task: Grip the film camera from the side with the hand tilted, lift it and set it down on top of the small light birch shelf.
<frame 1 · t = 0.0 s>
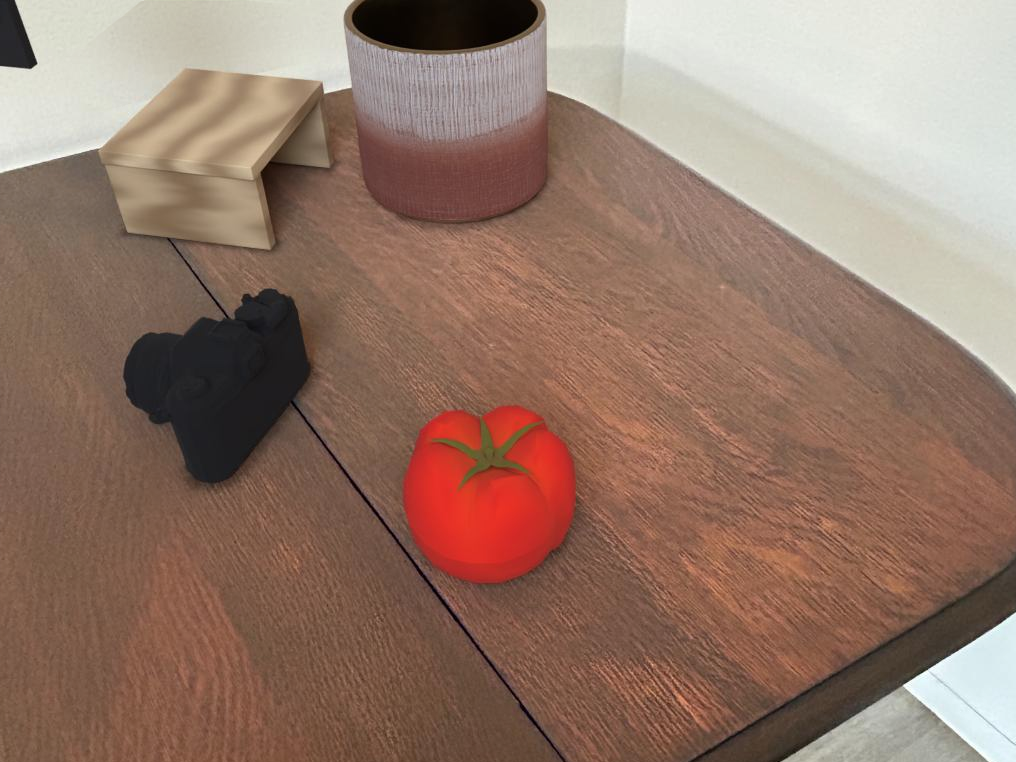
hand: (73, 20, 65), 24 cm above the table, tool pointing down, fingers open, 13 cm apart
film camera: (221, 416, 76), on the table
planter: (456, 184, 100), on the table
shelf: (235, 196, 98), on the table
tomato: (494, 541, 68), on the table
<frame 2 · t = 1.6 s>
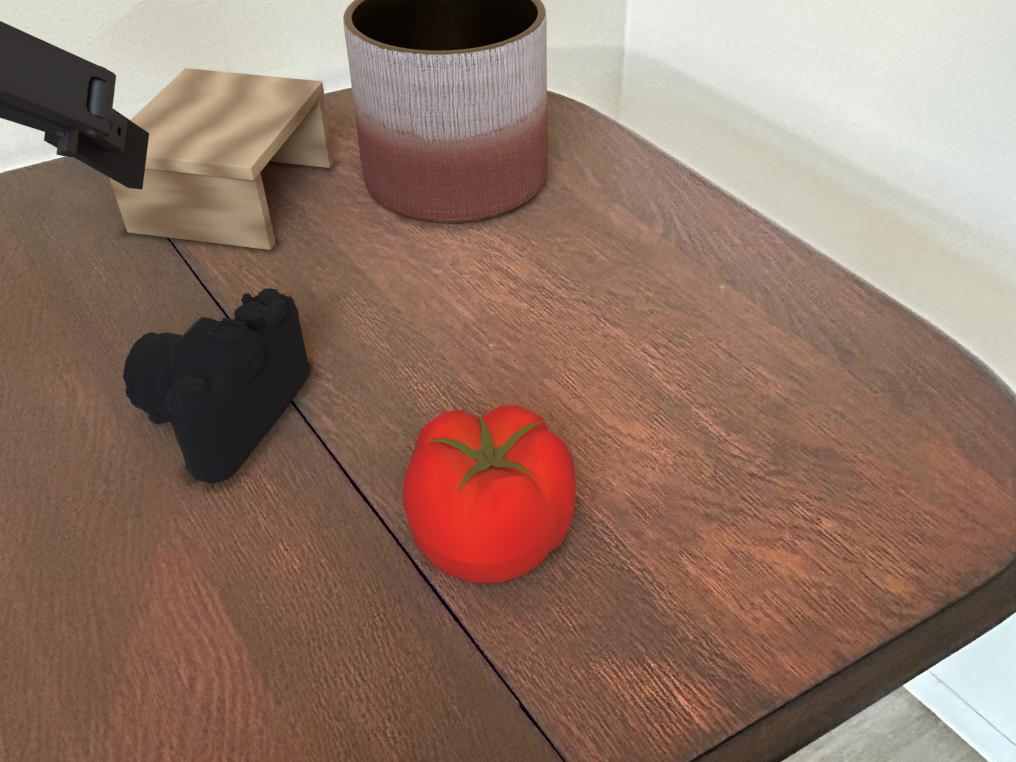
hand: (12, 147, 50), 26 cm above the table, tool tilted 45°, fingers open, 13 cm apart
nothing on the table moved.
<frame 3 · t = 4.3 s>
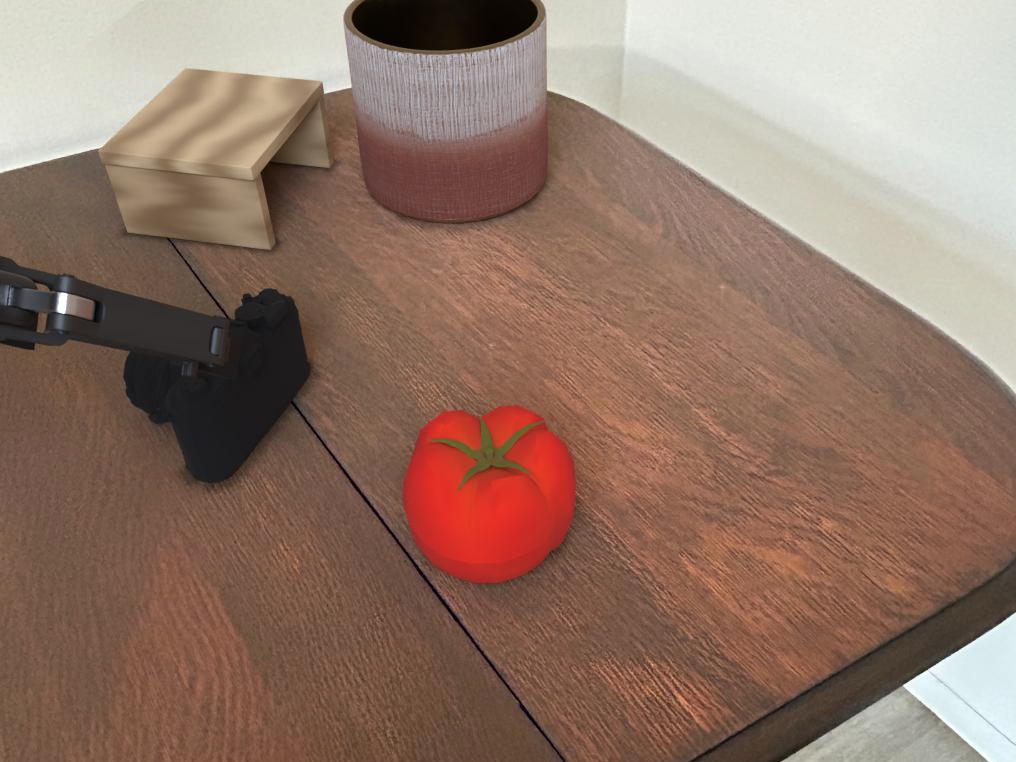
hand: (131, 342, 63), 12 cm above the table, tool tilted 45°, fingers open, 13 cm apart
nothing on the table moved.
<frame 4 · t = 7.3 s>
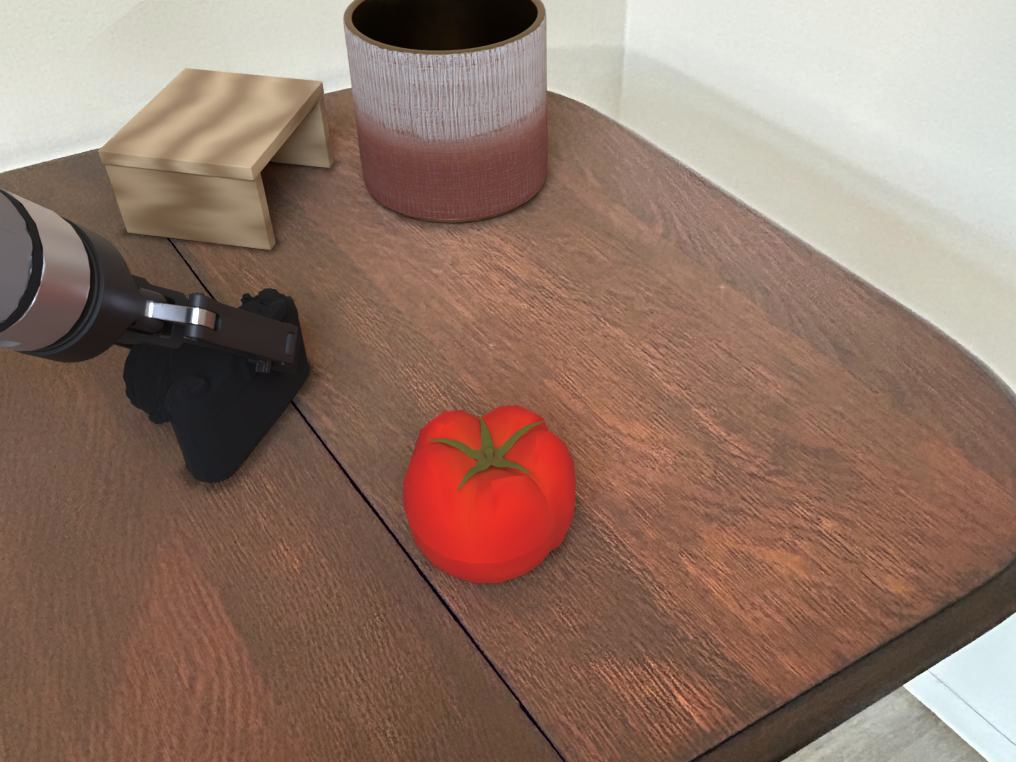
hand: (225, 347, 75), 4 cm above the table, tool tilted 45°, fingers closed on film camera, 10 cm apart
film camera: (221, 416, 76), on the table, touching gripper
everything else where it was.
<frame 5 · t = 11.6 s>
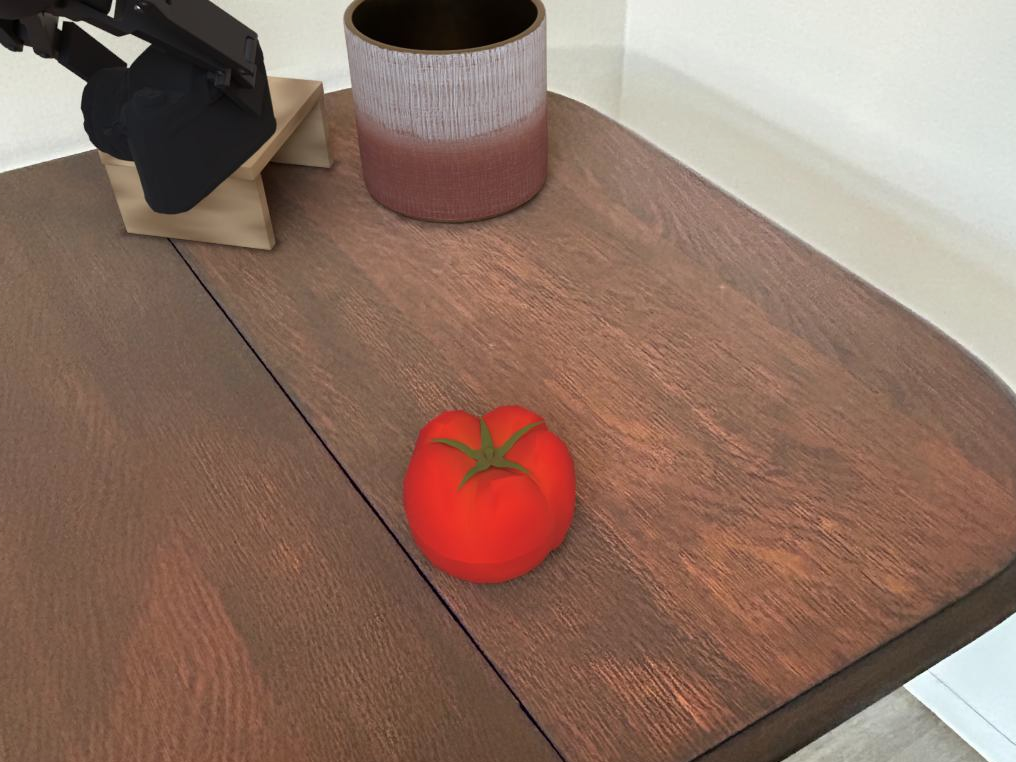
hand: (188, 89, 73), 18 cm above the table, tool tilted 45°, fingers closed on film camera, 10 cm apart
film camera: (184, 164, 74), point 14 cm above the table, touching gripper
everything else where it was.
when the fingers open (12 cm above the table, at t = 16.4 s): film camera stays where it is, resting on shelf.
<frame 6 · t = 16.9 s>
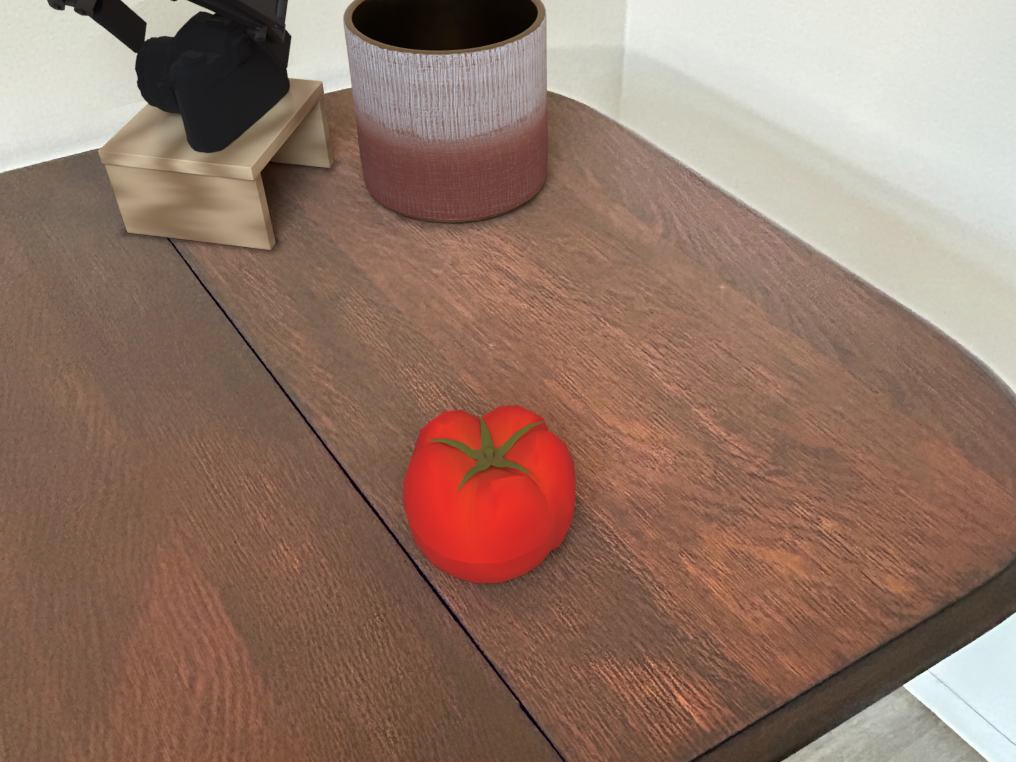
hand: (212, 45, 90), 13 cm above the table, tool tilted 45°, fingers open, 13 cm apart
film camera: (216, 116, 92), point 8 cm above the table, touching shelf
everything else where it was.
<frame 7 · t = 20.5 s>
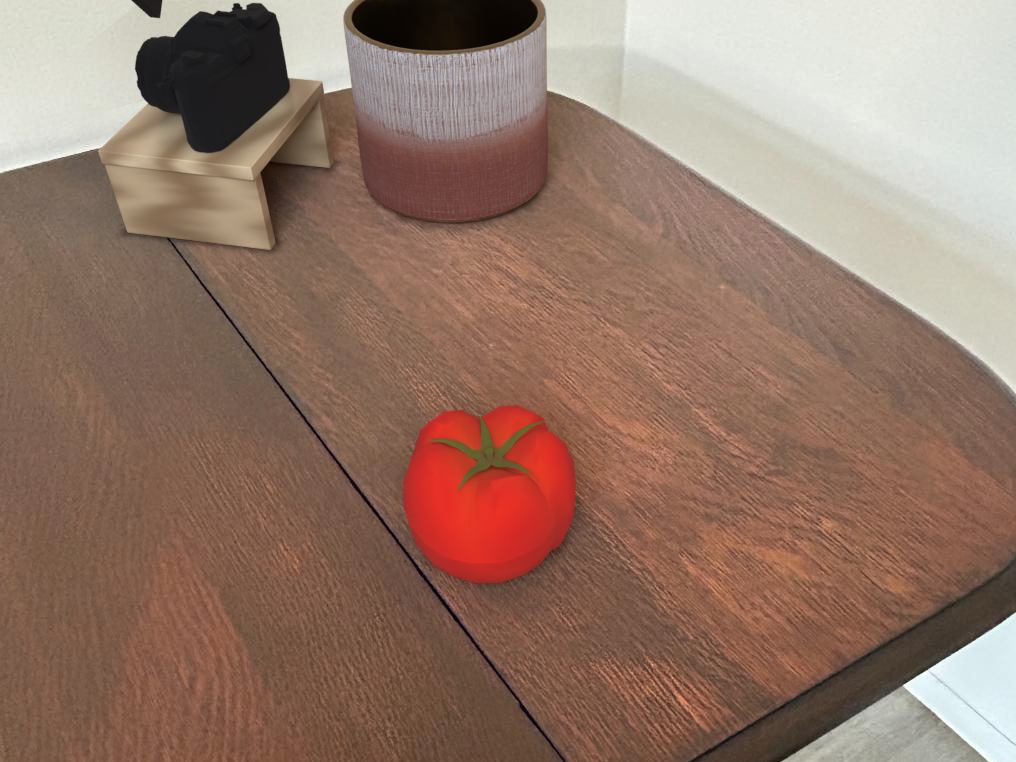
nothing on the table moved.
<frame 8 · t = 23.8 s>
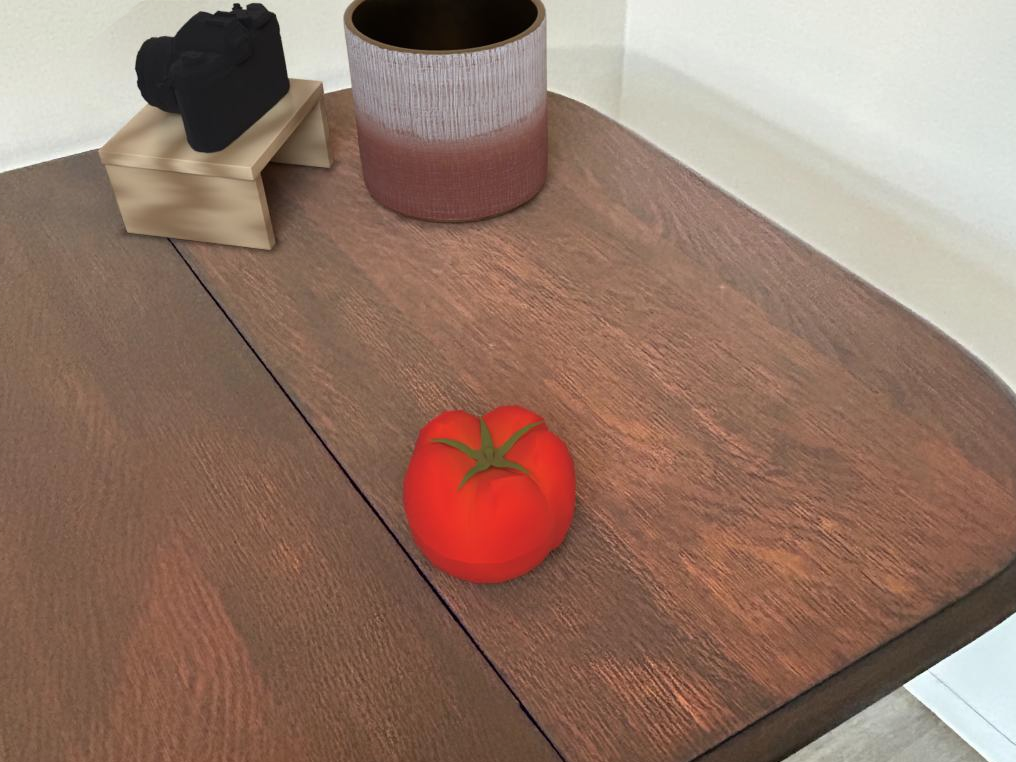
nothing on the table moved.
at the end: film camera inside the target area on the shelf (0.0 cm from its centre), point 7.8 cm above the shelf's base; film camera tilted 0°; the gripper is holding nothing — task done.
